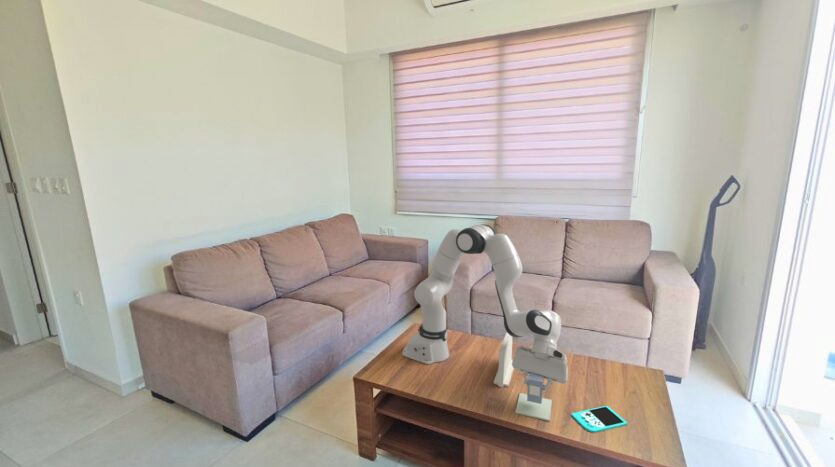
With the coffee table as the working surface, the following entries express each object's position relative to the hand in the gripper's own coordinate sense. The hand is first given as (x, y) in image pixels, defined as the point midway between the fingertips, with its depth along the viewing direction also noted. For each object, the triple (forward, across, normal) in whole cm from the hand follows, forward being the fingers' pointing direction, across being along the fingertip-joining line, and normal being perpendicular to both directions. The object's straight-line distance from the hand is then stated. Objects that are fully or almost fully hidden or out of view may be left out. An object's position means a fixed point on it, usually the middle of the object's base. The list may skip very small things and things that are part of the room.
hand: (534, 387), depth 139 cm
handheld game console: (+2, +21, +11) cm, 24 cm away
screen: (-6, -17, +18) cm, 26 cm away
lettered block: (+3, 0, +4) cm, 5 cm away
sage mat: (+6, 0, +6) cm, 9 cm away
